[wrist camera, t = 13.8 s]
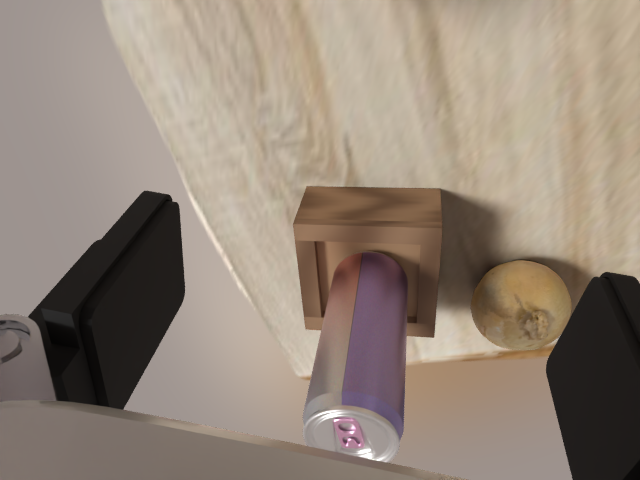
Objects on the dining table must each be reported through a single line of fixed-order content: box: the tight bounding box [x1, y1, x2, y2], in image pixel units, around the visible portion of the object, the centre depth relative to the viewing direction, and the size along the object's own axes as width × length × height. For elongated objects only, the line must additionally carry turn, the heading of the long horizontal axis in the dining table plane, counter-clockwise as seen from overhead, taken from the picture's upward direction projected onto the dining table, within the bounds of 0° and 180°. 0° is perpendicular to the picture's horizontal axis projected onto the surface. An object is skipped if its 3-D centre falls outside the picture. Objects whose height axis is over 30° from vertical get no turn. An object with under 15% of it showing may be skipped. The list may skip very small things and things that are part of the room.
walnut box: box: [293, 187, 443, 338], centre depth 43 cm, size 11×11×6 cm
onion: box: [471, 260, 572, 350], centre depth 43 cm, size 8×8×7 cm
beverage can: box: [303, 251, 408, 463], centre depth 36 cm, size 6×6×15 cm
